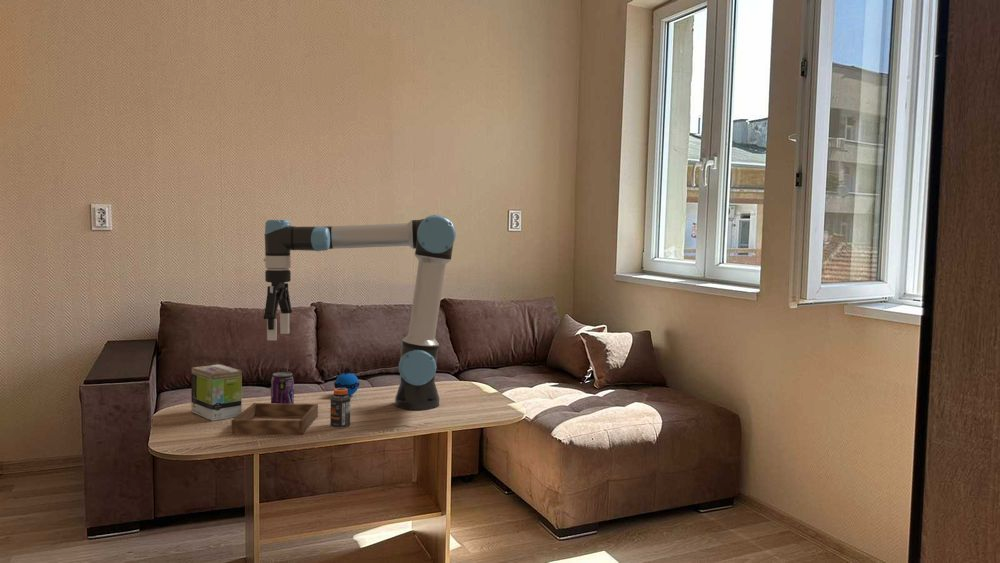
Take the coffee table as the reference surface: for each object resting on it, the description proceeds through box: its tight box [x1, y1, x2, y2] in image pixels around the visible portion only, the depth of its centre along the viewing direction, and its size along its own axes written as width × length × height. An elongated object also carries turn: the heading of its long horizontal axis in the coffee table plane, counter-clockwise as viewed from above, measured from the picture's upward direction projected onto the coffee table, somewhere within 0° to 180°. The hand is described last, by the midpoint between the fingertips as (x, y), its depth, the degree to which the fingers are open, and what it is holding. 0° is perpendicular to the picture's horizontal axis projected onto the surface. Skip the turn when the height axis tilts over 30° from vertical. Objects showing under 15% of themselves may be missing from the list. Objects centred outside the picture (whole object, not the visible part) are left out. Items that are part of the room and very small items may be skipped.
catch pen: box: [231, 402, 319, 436], centre depth 210 cm, size 20×20×4 cm
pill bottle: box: [329, 388, 352, 429], centre depth 210 cm, size 6×6×11 cm
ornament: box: [333, 367, 360, 397], centre depth 248 cm, size 9×9×10 cm
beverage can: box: [270, 371, 295, 404], centre depth 226 cm, size 7×7×12 cm
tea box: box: [190, 363, 243, 422], centre depth 219 cm, size 15×10×15 cm, turn 47°
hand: (278, 336), depth 219 cm, fingers open, 13 cm apart
